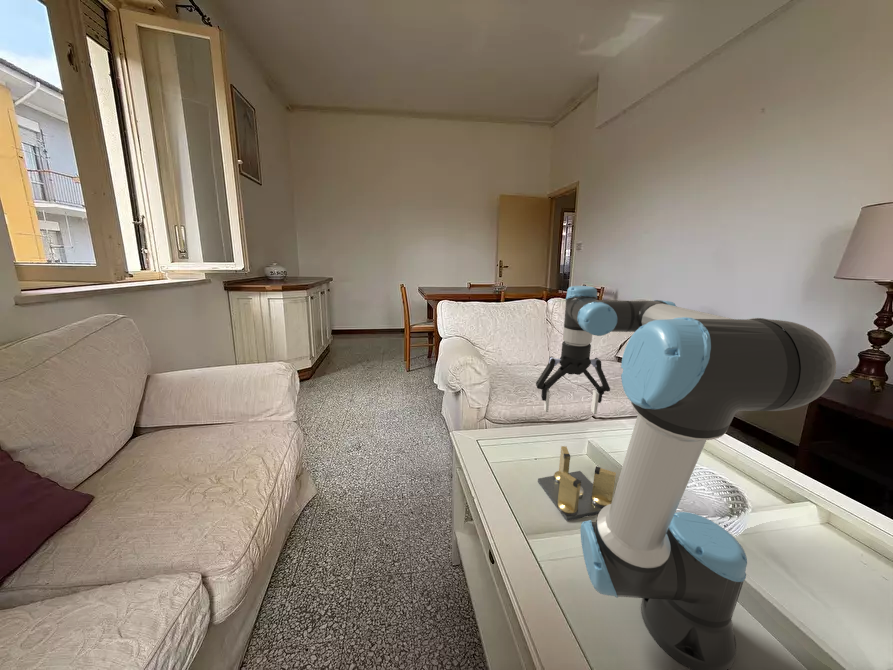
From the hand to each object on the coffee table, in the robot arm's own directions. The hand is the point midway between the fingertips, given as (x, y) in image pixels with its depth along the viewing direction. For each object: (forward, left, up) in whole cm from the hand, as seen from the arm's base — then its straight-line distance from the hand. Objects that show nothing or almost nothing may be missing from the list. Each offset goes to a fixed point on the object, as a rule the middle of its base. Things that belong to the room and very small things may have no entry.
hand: (569, 411), depth 100 cm
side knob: (-11, -6, -23) cm, 26 cm away
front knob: (-11, +6, -23) cm, 26 cm away
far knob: (0, 0, -23) cm, 23 cm away
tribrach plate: (-6, 0, -25) cm, 25 cm away
